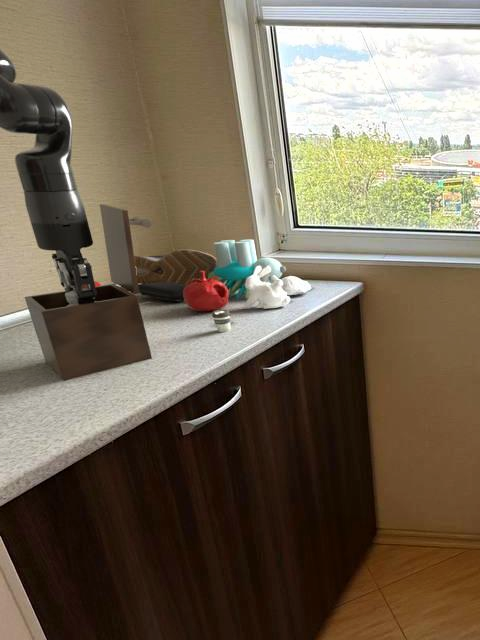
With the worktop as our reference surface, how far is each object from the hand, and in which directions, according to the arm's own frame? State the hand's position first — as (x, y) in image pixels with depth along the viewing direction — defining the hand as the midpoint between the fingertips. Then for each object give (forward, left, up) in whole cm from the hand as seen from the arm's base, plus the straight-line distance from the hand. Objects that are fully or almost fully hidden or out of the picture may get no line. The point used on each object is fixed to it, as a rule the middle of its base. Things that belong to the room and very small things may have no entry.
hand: (86, 315), depth 92 cm
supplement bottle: (0, 0, -6) cm, 6 cm away
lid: (+7, 0, +11) cm, 13 cm away
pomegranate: (+28, +19, -9) cm, 35 cm away
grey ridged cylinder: (+23, 0, -9) cm, 25 cm away
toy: (+42, +25, +6) cm, 49 cm away
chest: (0, 0, -9) cm, 9 cm away
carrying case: (+24, +45, -7) cm, 52 cm away
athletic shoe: (+29, +49, -4) cm, 57 cm away
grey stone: (+49, +15, -9) cm, 52 cm away
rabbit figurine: (+39, +11, -9) cm, 41 cm away
